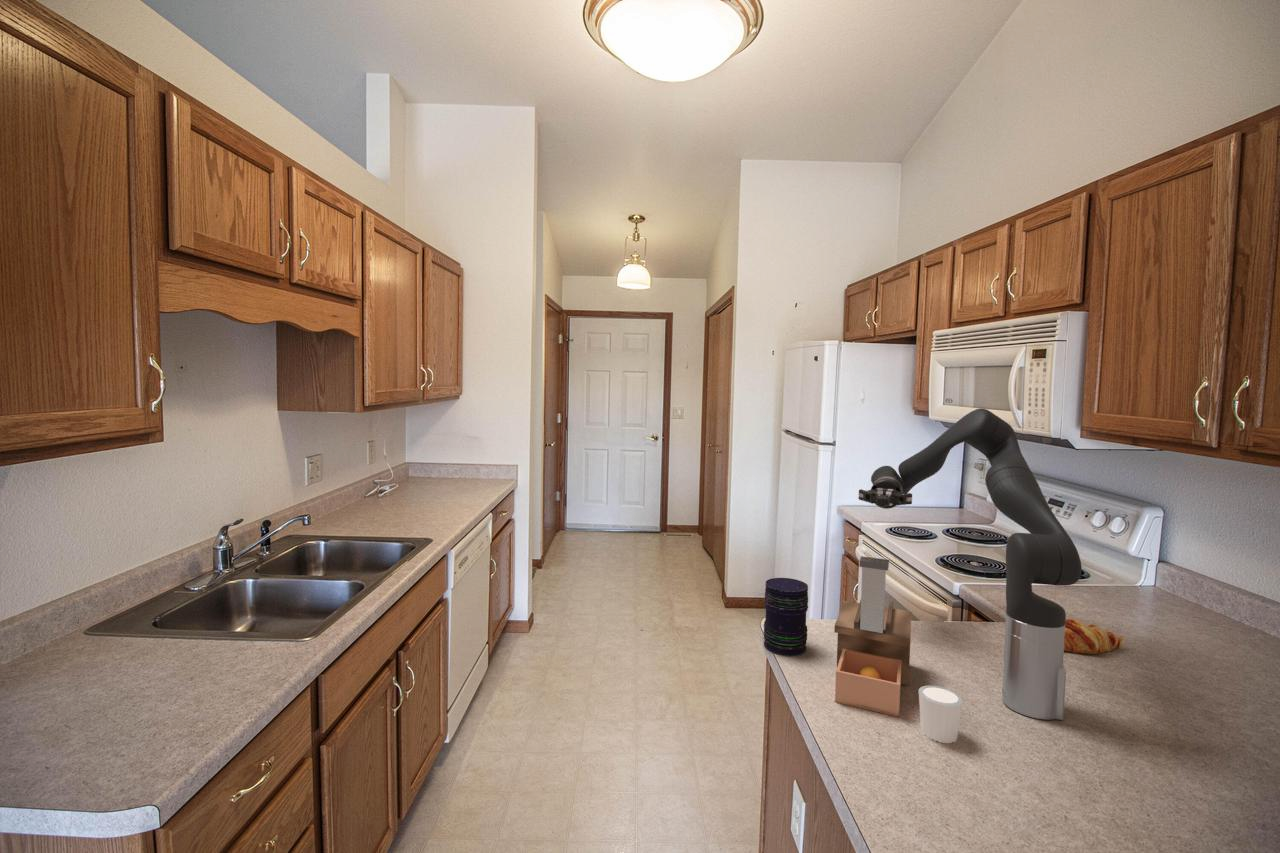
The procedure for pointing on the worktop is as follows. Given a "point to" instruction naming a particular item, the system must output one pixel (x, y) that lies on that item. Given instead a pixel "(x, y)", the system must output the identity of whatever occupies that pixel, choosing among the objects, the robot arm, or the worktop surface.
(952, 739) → the white cylinder
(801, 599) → the dark blue ribbed barrel
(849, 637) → the shelf
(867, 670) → the ball
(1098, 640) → the croissant
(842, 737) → the worktop surface
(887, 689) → the orange open drawer
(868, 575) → the grey metal tall block
